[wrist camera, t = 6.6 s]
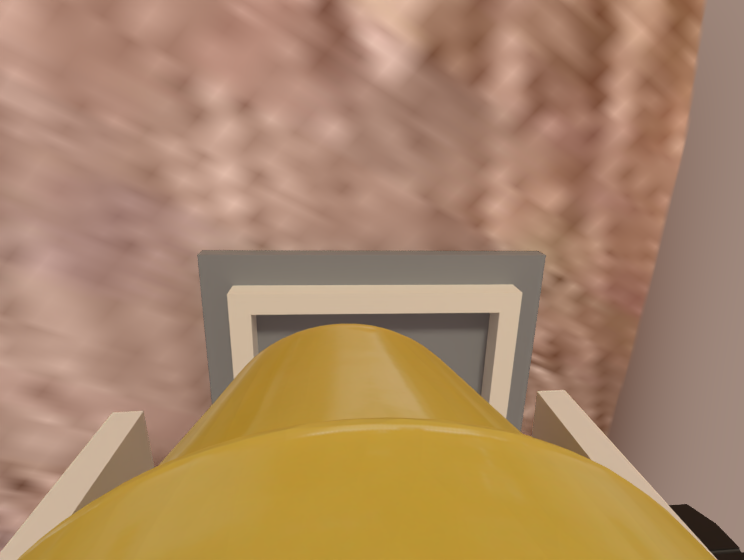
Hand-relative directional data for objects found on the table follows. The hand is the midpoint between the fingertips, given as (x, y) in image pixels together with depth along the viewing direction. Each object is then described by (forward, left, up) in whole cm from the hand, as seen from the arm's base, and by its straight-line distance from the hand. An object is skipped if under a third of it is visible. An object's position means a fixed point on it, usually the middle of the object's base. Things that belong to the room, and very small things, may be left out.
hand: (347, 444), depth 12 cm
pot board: (+2, -9, -16) cm, 18 cm away
